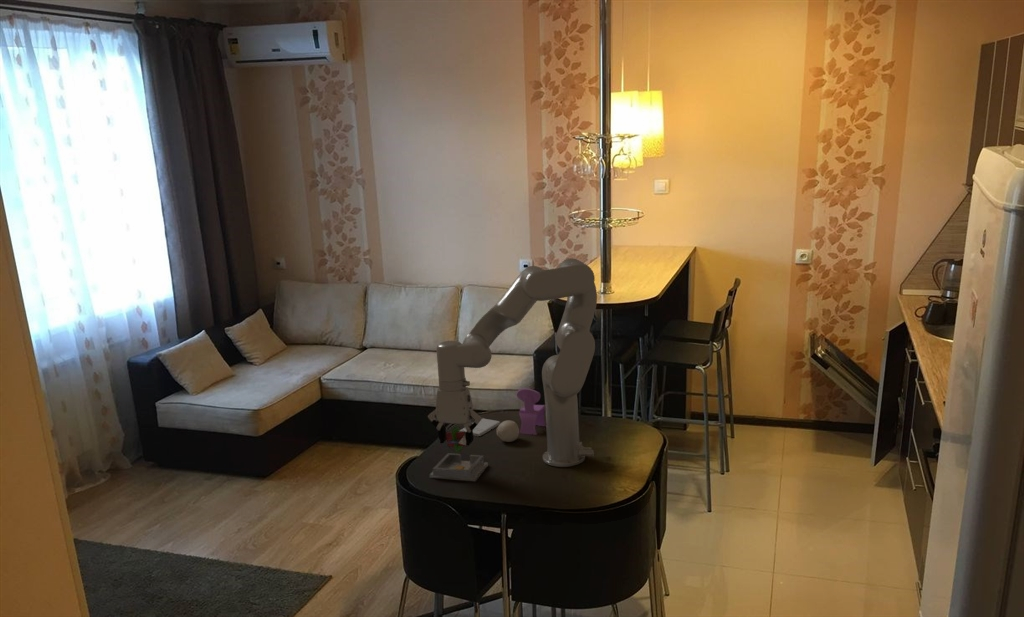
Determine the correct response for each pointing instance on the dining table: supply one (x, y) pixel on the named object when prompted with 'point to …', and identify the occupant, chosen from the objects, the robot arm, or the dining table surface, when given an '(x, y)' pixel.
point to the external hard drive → (483, 427)
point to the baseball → (508, 431)
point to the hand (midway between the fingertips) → (456, 442)
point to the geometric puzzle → (456, 439)
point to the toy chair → (530, 411)
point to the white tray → (459, 468)
